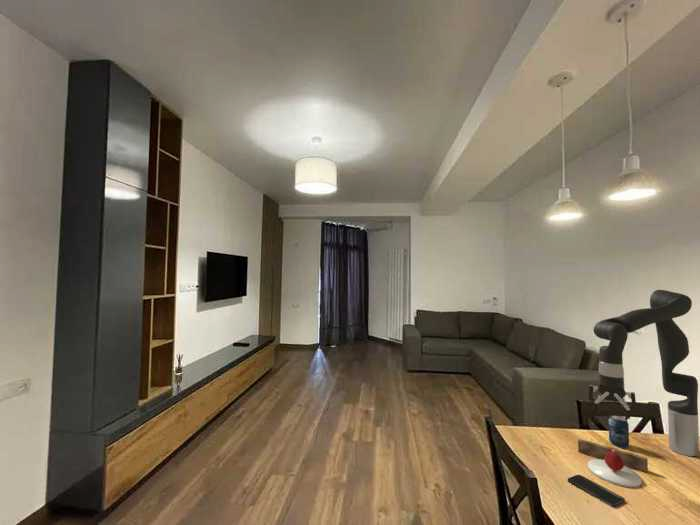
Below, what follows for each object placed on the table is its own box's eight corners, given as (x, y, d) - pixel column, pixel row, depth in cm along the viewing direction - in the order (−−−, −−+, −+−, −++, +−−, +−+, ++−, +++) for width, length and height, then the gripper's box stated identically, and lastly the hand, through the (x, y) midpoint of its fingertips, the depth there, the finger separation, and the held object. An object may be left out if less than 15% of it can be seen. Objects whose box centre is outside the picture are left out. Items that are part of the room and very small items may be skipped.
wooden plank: (578, 452, 138) (578, 440, 138) (578, 450, 139) (578, 438, 139) (647, 472, 124) (647, 459, 124) (647, 470, 125) (647, 457, 125)
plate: (601, 458, 133) (601, 455, 133) (650, 480, 119) (650, 477, 119) (579, 467, 126) (578, 465, 126) (628, 492, 112) (628, 489, 112)
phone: (578, 474, 121) (626, 499, 107) (578, 477, 121) (626, 502, 107) (565, 479, 118) (613, 506, 104) (565, 482, 118) (613, 509, 104)
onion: (627, 476, 119) (627, 454, 120) (610, 474, 120) (609, 453, 121) (618, 467, 125) (617, 446, 125) (601, 465, 126) (601, 445, 126)
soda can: (612, 446, 142) (611, 419, 143) (606, 439, 149) (606, 413, 149) (632, 450, 140) (631, 422, 140) (625, 442, 146) (624, 416, 147)
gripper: (587, 372, 126) (588, 414, 125) (636, 380, 117) (637, 425, 116) (588, 368, 132) (589, 408, 131) (635, 375, 123) (636, 418, 122)
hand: (612, 416), depth 124 cm, fingers open, 8 cm apart
